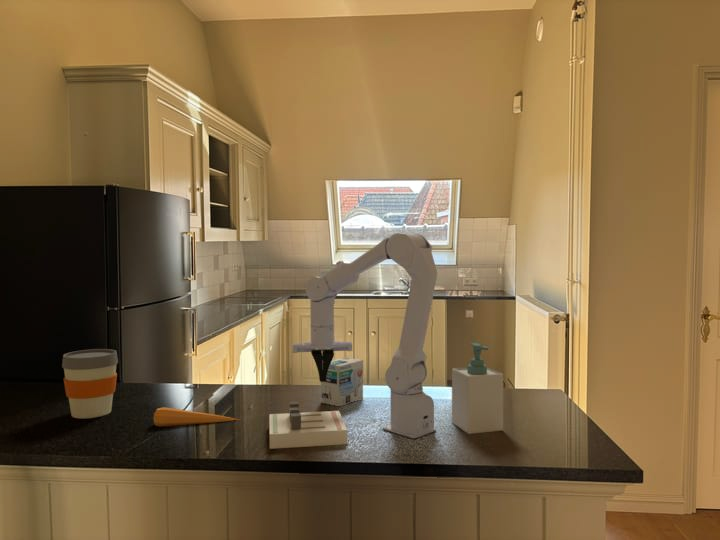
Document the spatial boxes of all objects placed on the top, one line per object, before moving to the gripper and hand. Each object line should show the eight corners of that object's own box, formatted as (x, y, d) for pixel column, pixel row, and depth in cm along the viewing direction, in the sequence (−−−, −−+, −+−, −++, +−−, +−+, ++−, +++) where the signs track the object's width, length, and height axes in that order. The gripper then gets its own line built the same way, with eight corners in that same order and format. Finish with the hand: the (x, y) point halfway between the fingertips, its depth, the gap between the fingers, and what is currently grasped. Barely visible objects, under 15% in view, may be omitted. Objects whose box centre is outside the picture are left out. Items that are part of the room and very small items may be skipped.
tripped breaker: (299, 418, 122) (298, 407, 122) (299, 421, 120) (299, 409, 120) (289, 419, 122) (289, 407, 122) (290, 422, 120) (290, 410, 120)
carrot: (151, 431, 128) (151, 415, 126) (155, 418, 132) (155, 402, 130) (240, 433, 132) (241, 418, 130) (241, 421, 136) (242, 406, 134)
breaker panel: (338, 423, 130) (338, 398, 129) (347, 444, 116) (347, 415, 116) (269, 427, 127) (269, 401, 127) (269, 448, 113) (269, 419, 113)
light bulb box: (339, 407, 143) (339, 366, 143) (319, 403, 147) (319, 362, 147) (364, 398, 152) (364, 359, 151) (345, 394, 156) (344, 356, 155)
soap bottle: (468, 434, 122) (469, 348, 121) (451, 422, 130) (451, 341, 129) (503, 431, 124) (504, 346, 123) (484, 419, 132) (485, 340, 132)
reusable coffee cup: (99, 403, 147) (98, 347, 147) (129, 410, 141) (128, 351, 140) (52, 415, 137) (50, 355, 136) (83, 423, 130) (81, 360, 130)
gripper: (349, 322, 141) (349, 375, 141) (291, 324, 139) (292, 378, 139) (353, 326, 134) (353, 382, 134) (293, 328, 132) (293, 385, 132)
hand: (322, 380), depth 136 cm, fingers closed
